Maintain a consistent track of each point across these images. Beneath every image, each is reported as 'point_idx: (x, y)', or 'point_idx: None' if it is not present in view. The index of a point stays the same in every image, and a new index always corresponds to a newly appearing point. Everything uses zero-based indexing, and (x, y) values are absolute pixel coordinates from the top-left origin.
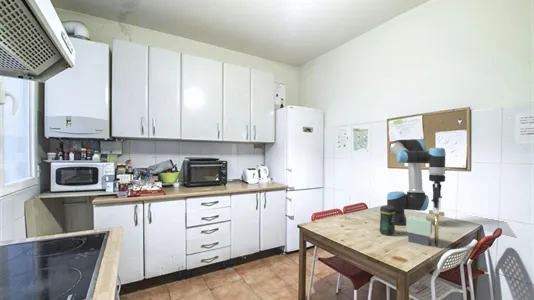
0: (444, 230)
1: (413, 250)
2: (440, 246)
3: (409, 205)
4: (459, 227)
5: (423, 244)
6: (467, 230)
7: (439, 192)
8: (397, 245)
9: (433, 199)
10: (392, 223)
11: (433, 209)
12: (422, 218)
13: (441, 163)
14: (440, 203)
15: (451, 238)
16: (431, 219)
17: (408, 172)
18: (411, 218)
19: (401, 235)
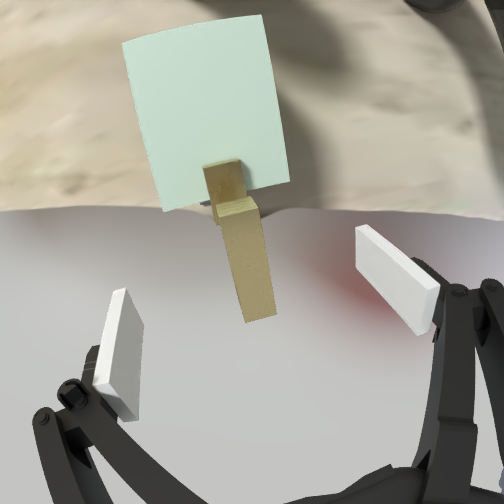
0: (451, 154)
1: (62, 143)
2: (207, 200)
3: (501, 14)
4: (498, 188)
5: None
6: (483, 213)
7: (426, 411)
8: (59, 73)
9: (37, 427)
10: None
11: (110, 317)
12: (247, 123)
13: None
14: (385, 299)
15: (375, 194)
16: (215, 206)
17: None
18: (163, 64)
19: (229, 13)
